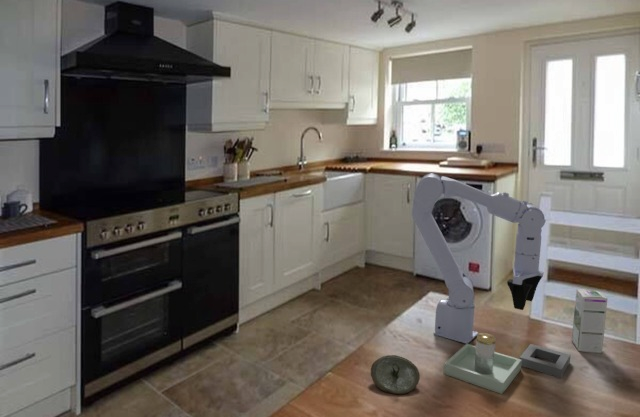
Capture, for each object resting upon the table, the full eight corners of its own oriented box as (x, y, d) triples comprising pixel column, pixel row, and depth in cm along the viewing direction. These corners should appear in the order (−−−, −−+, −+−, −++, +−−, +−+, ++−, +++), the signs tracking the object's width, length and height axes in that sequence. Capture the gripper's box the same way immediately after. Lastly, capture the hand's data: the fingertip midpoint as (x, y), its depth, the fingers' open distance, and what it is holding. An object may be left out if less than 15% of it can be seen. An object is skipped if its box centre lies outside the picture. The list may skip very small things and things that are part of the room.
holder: (518, 365, 112) (519, 357, 112) (529, 351, 119) (530, 343, 119) (560, 377, 107) (561, 369, 107) (569, 362, 114) (570, 354, 114)
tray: (443, 373, 108) (444, 363, 108) (466, 353, 118) (466, 343, 118) (502, 394, 100) (503, 383, 100) (520, 369, 110) (521, 359, 110)
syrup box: (603, 353, 119) (609, 297, 116) (577, 351, 120) (583, 295, 117) (594, 343, 124) (601, 290, 122) (570, 341, 125) (575, 288, 123)
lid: (414, 371, 109) (415, 351, 109) (423, 395, 100) (424, 373, 99) (368, 371, 109) (368, 350, 109) (372, 395, 100) (373, 373, 99)
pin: (471, 370, 109) (474, 337, 107) (477, 364, 112) (479, 331, 111) (489, 376, 106) (492, 342, 105) (494, 369, 110) (497, 336, 108)
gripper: (536, 261, 112) (531, 316, 114) (551, 249, 123) (547, 299, 126) (505, 256, 116) (501, 309, 119) (523, 245, 128) (519, 294, 130)
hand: (523, 304), depth 122 cm, fingers open, 7 cm apart
